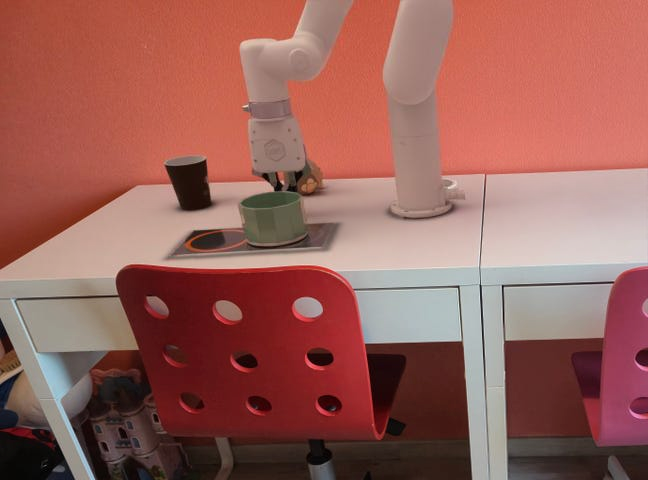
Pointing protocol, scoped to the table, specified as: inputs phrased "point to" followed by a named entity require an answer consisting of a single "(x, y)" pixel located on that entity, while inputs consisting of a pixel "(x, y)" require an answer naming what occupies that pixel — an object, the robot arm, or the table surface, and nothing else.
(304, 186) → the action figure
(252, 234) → the saucepan
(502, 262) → the table surface
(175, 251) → the hob
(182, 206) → the coffee mug
